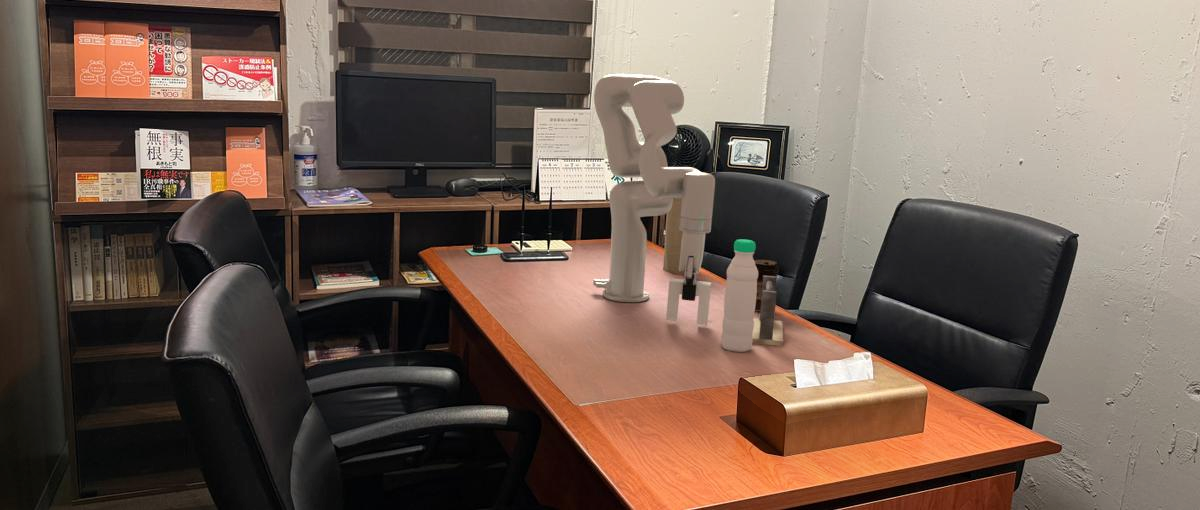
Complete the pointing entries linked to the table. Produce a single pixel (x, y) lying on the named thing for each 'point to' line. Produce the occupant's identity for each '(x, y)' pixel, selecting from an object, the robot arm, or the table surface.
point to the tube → (673, 238)
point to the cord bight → (701, 291)
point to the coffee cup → (763, 269)
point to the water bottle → (740, 298)
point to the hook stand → (768, 317)
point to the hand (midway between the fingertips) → (688, 297)
